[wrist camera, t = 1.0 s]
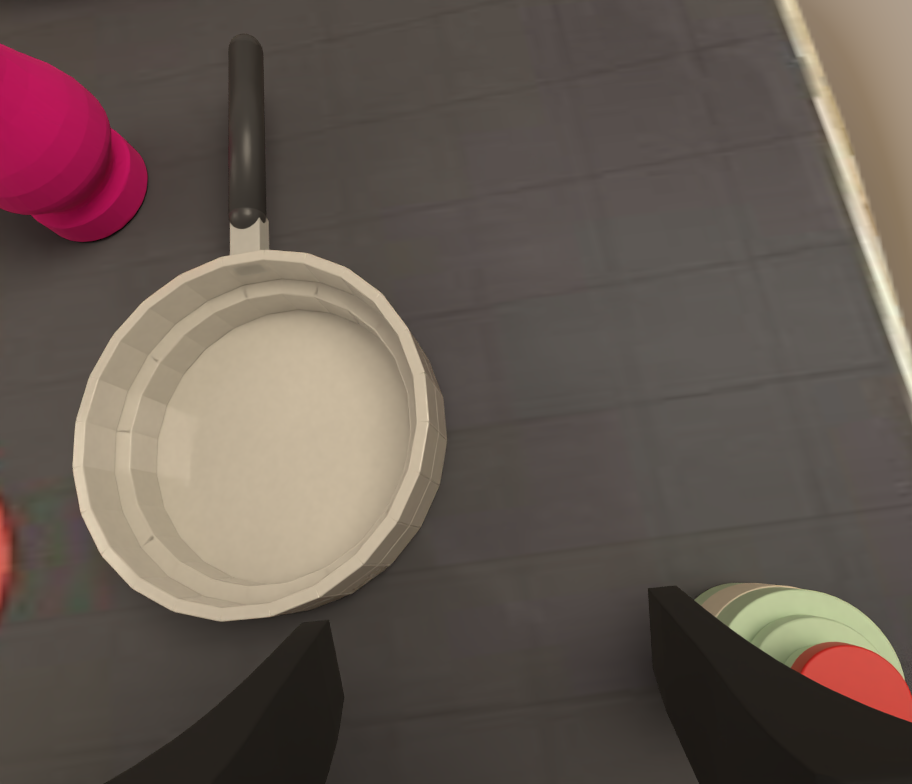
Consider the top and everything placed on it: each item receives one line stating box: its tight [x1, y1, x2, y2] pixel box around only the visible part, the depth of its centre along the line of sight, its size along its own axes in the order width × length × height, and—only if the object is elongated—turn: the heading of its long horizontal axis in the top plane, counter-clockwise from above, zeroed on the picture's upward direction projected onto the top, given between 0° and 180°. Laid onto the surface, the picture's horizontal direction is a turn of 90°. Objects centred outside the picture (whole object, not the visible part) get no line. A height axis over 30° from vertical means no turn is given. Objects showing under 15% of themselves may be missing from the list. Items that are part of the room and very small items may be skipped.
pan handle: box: [229, 34, 269, 277], centre depth 30 cm, size 12×2×2 cm, turn 5°
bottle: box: [694, 583, 912, 722], centre depth 20 cm, size 5×5×10 cm
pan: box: [73, 250, 447, 622], centre depth 28 cm, size 15×15×4 cm
